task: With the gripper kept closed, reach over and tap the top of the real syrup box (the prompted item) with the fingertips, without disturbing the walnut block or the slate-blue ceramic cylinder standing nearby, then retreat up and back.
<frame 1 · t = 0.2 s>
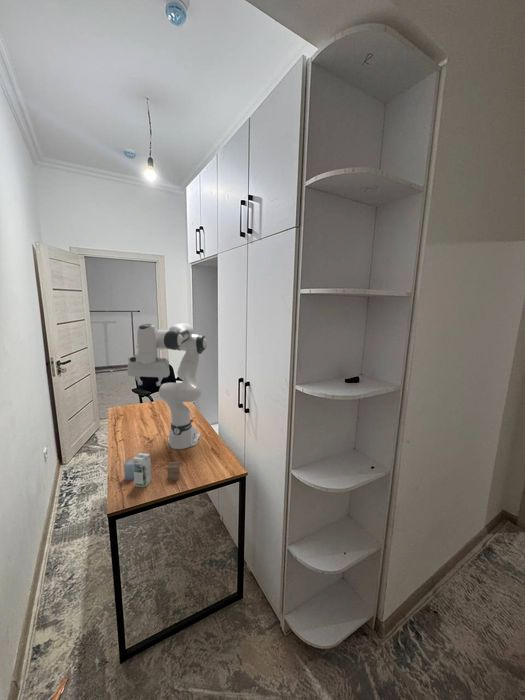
hand: (149, 385, 142), 47 cm above the table, fingers open, 8 cm apart
syrup box: (143, 483, 140), on the table
walnut block: (173, 477, 146), on the table
slate cylinder: (130, 477, 145), on the table
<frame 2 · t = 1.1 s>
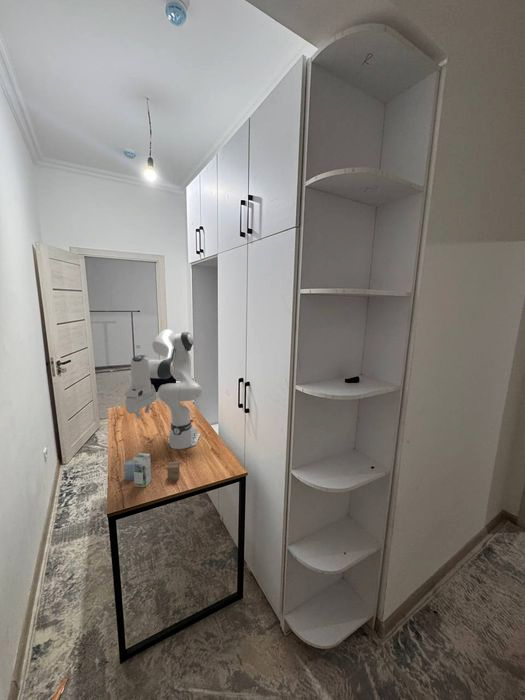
hand: (143, 415, 144), 31 cm above the table, fingers open, 5 cm apart
nothing on the table moved.
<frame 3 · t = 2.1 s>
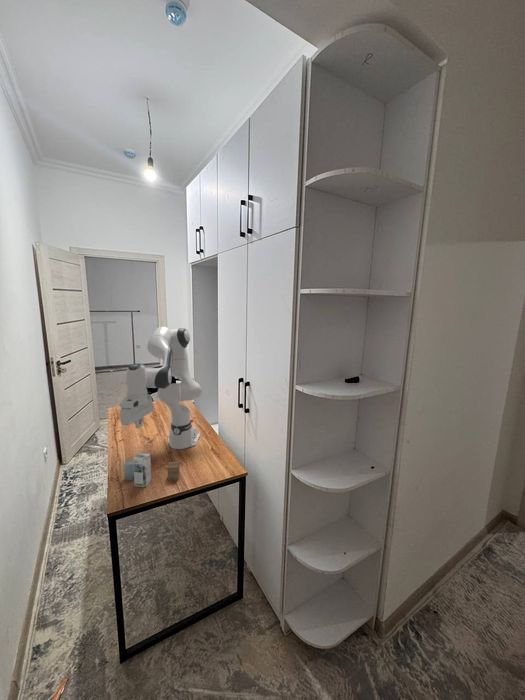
hand: (138, 427, 136), 29 cm above the table, fingers closed
nothing on the table moved.
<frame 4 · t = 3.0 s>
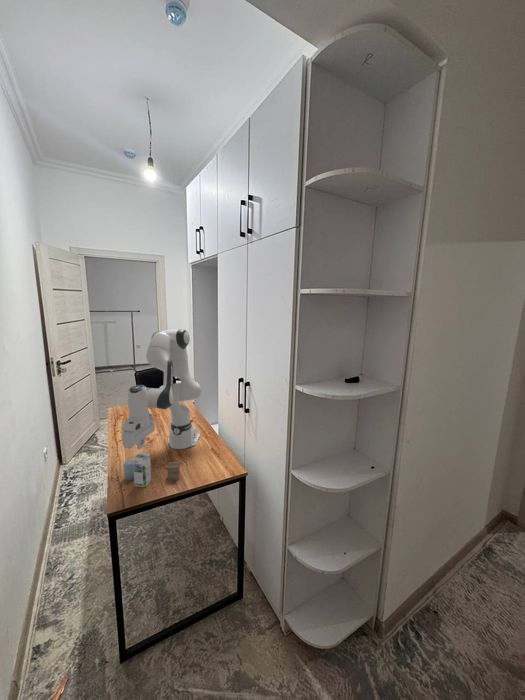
hand: (140, 447, 137), 19 cm above the table, fingers closed
nothing on the table moved.
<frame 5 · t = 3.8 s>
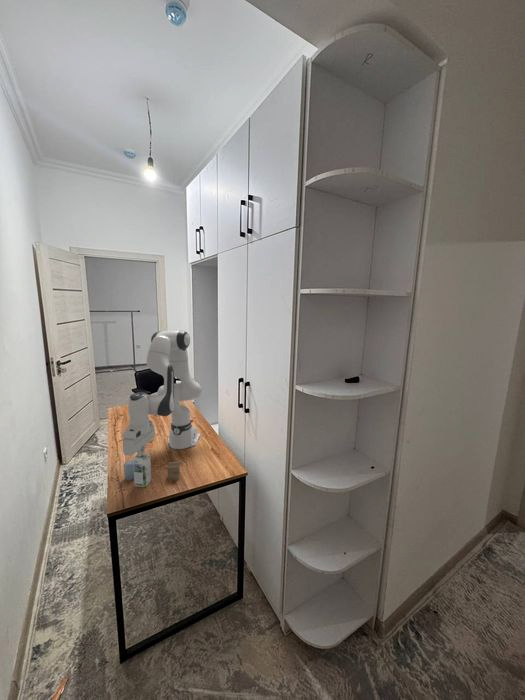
hand: (141, 454, 137), 15 cm above the table, fingers closed
nothing on the table moved.
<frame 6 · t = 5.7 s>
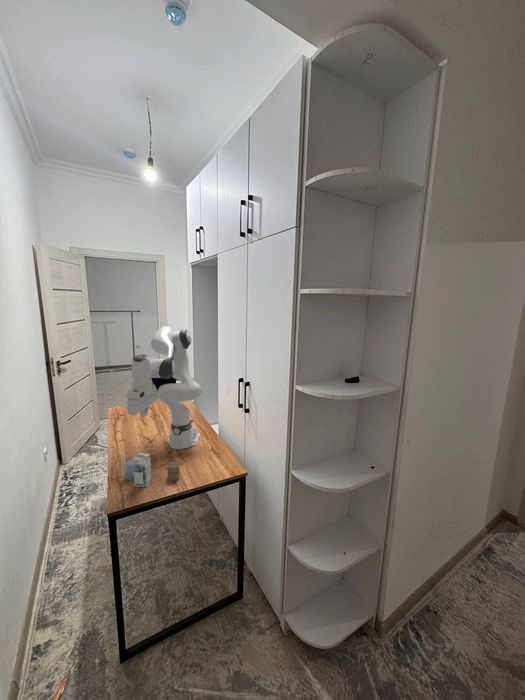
hand: (144, 416, 141), 32 cm above the table, fingers closed
nothing on the table moved.
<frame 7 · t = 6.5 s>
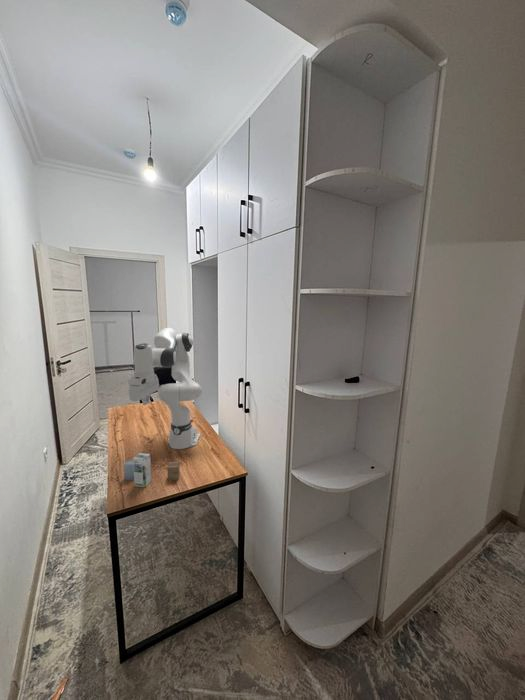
hand: (146, 404, 143), 37 cm above the table, fingers closed
nothing on the table moved.
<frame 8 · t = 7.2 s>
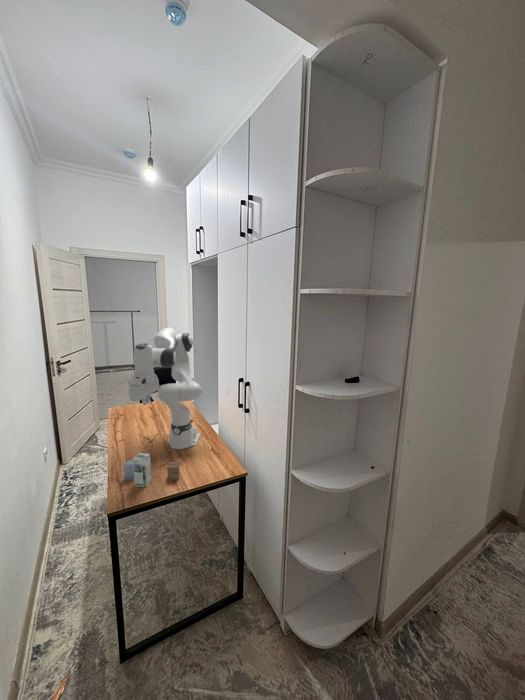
hand: (146, 404, 143), 37 cm above the table, fingers closed
nothing on the table moved.
at the end: syrup box tilted 0°; walnut block moved 0.1 cm from its start; slate cylinder moved 0.0 cm from its start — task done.
